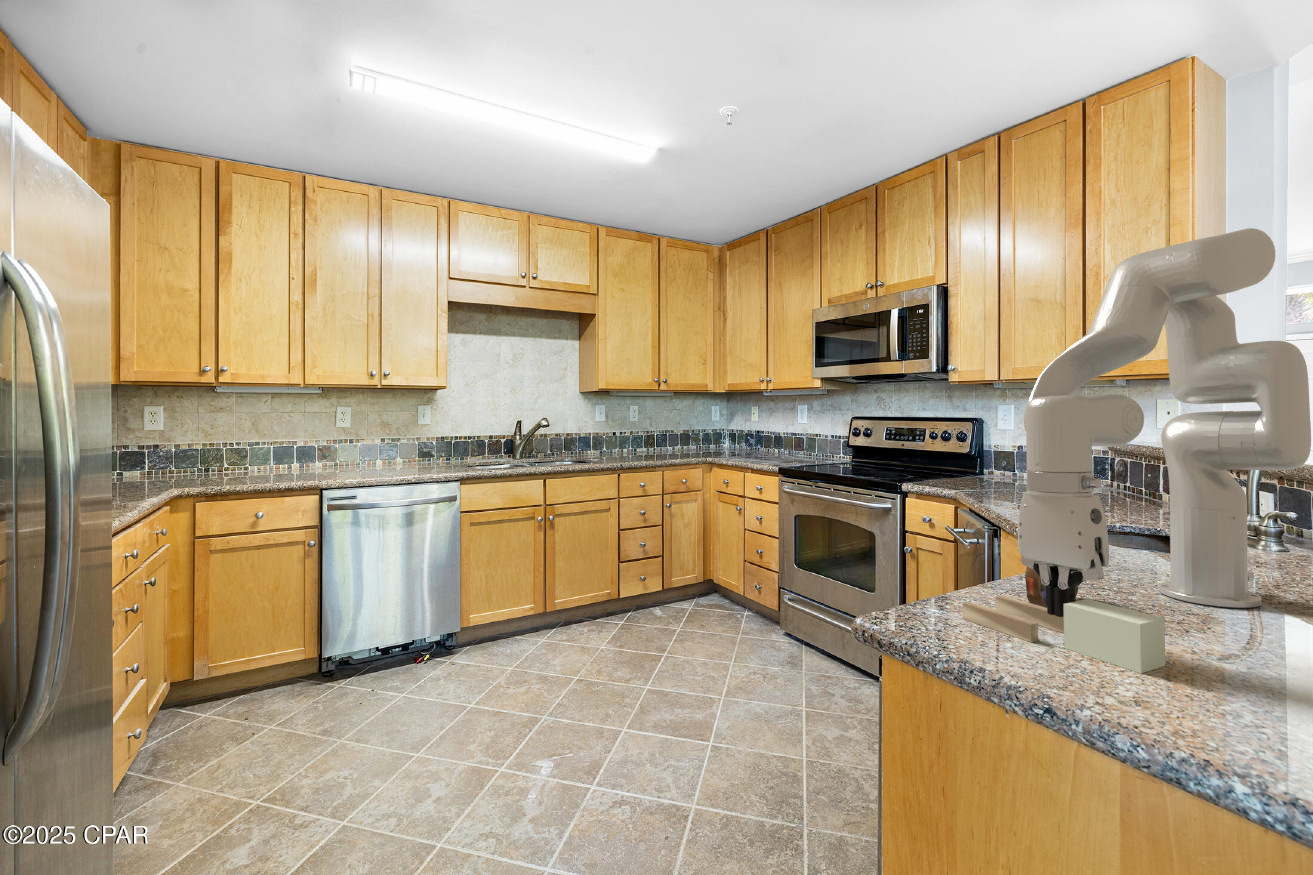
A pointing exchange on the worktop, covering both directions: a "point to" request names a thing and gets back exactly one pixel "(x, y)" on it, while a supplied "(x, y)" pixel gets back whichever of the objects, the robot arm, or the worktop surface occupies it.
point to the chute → (1013, 618)
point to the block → (1115, 635)
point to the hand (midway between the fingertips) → (1060, 614)
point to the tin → (1036, 588)
